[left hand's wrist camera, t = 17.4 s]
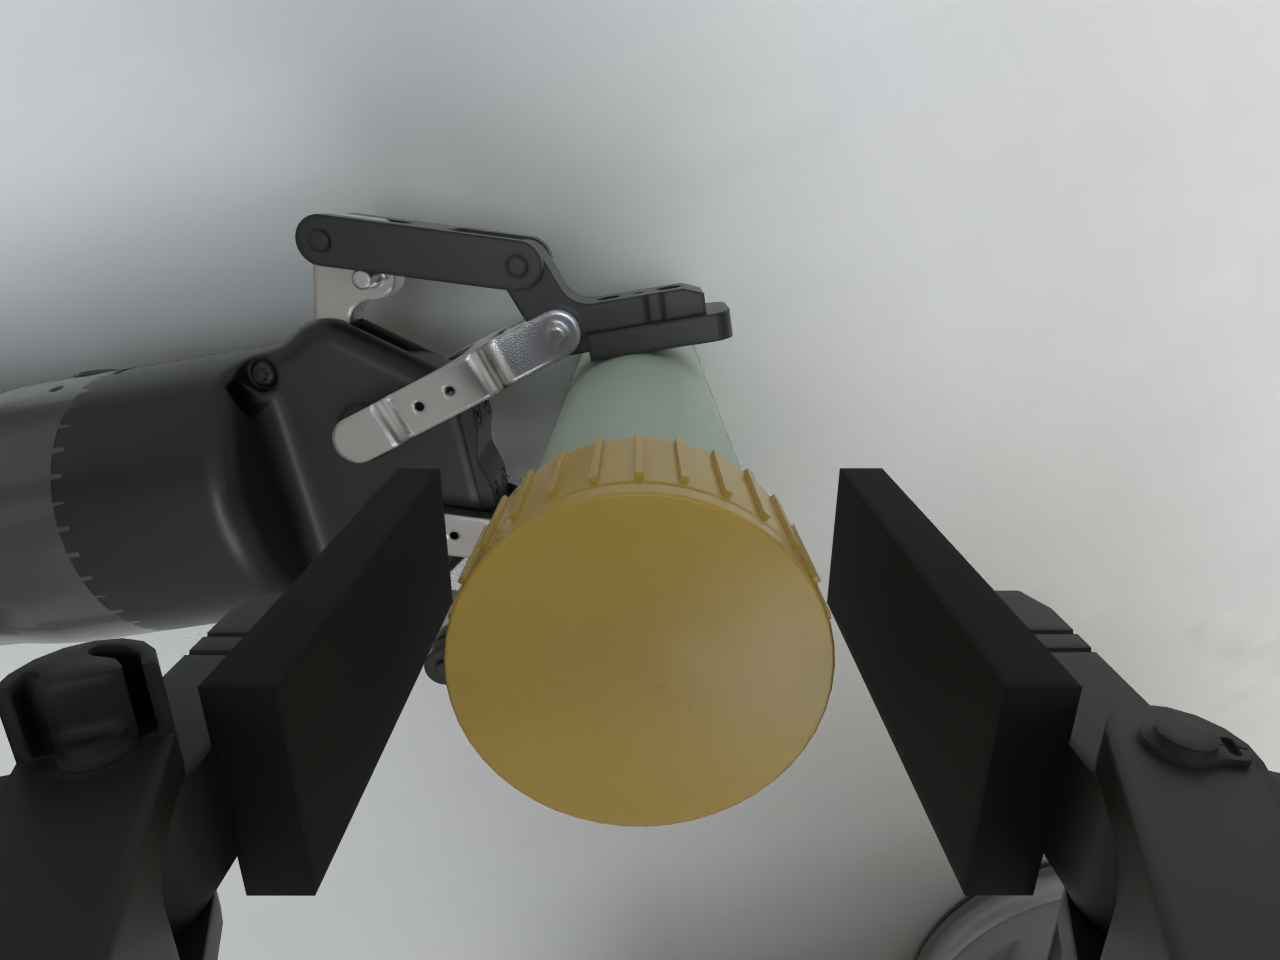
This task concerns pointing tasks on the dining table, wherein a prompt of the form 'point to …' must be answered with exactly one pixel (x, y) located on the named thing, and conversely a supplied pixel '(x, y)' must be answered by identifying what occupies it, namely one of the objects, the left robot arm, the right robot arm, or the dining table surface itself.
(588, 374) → the green bottle
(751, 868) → the dining table surface
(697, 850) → the dining table surface
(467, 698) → the lid
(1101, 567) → the dining table surface
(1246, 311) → the dining table surface
